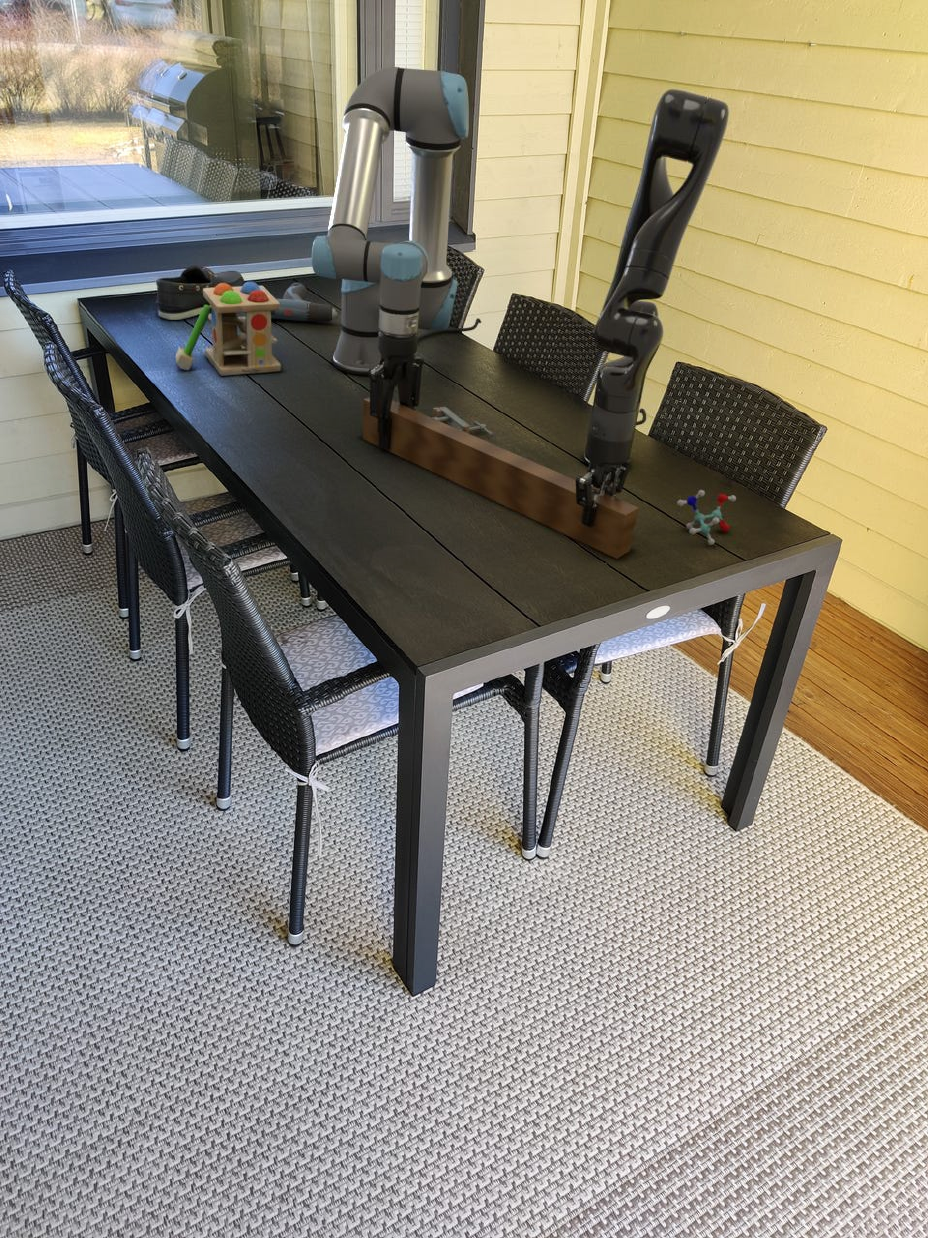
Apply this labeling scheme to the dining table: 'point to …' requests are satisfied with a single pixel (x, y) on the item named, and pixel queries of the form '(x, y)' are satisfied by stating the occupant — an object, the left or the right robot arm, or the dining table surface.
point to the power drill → (301, 307)
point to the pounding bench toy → (229, 347)
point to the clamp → (456, 421)
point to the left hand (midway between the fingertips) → (393, 444)
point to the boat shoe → (190, 291)
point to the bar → (504, 478)
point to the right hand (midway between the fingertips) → (595, 520)
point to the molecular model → (700, 517)
